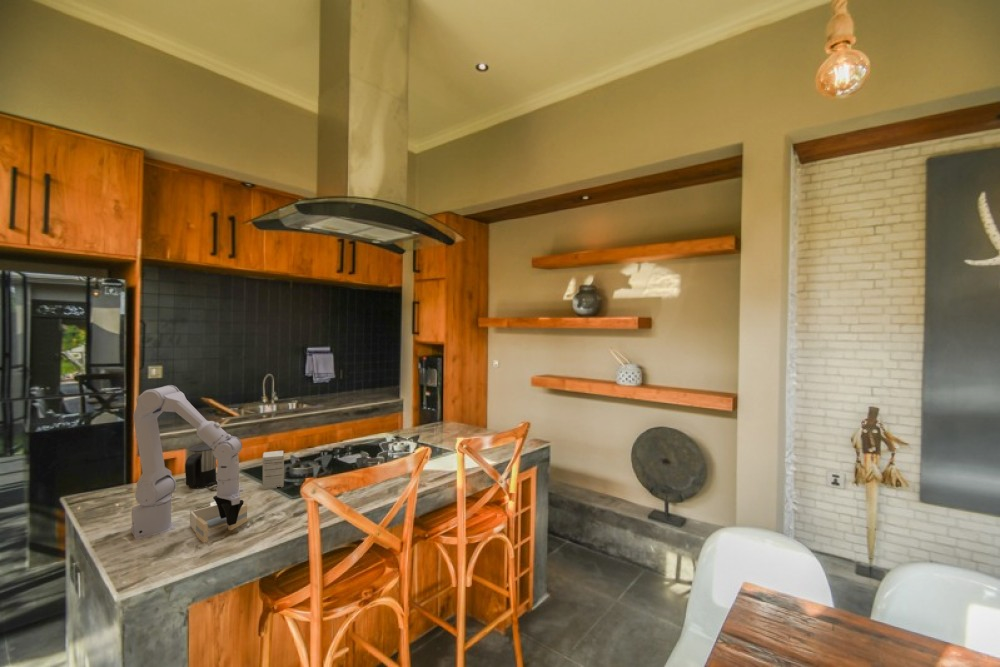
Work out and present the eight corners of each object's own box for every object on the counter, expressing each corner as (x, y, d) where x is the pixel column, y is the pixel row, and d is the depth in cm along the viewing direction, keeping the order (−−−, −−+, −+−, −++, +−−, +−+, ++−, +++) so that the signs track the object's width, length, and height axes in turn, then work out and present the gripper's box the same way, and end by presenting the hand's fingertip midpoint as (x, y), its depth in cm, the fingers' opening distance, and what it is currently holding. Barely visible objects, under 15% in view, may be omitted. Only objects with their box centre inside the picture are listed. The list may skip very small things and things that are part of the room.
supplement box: (263, 483, 174) (263, 452, 174) (284, 481, 177) (284, 450, 177) (262, 490, 168) (262, 457, 167) (283, 487, 171) (283, 455, 170)
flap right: (245, 521, 141) (245, 504, 141) (248, 521, 141) (248, 504, 141) (228, 530, 135) (228, 512, 135) (231, 530, 135) (231, 513, 134)
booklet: (210, 528, 136) (210, 525, 136) (203, 524, 138) (203, 521, 138) (231, 520, 141) (231, 518, 141) (224, 517, 143) (224, 514, 143)
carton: (197, 536, 132) (197, 519, 132) (190, 527, 137) (190, 511, 137) (245, 521, 141) (245, 506, 141) (236, 514, 147) (236, 499, 147)
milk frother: (192, 481, 175) (192, 444, 174) (238, 477, 181) (238, 441, 180) (182, 495, 162) (181, 455, 161) (231, 489, 168) (231, 451, 167)
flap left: (195, 536, 131) (195, 518, 131) (199, 534, 132) (199, 516, 132) (203, 543, 127) (203, 524, 127) (207, 542, 128) (207, 523, 127)
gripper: (250, 480, 135) (250, 524, 135) (234, 469, 144) (234, 510, 145) (224, 486, 129) (224, 531, 130) (209, 474, 139) (210, 516, 139)
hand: (228, 520), depth 137 cm, fingers open, 6 cm apart
